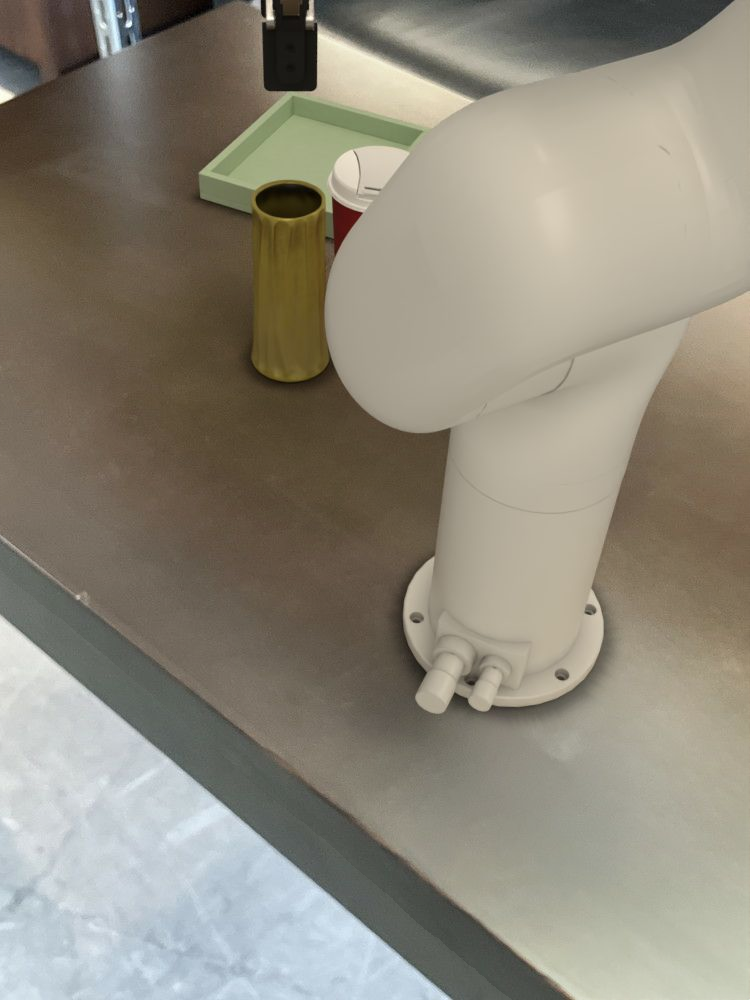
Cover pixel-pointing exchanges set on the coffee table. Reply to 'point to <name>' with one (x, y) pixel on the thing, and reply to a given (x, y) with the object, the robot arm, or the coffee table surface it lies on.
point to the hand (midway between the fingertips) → (287, 51)
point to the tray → (299, 148)
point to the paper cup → (359, 184)
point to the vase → (289, 280)
